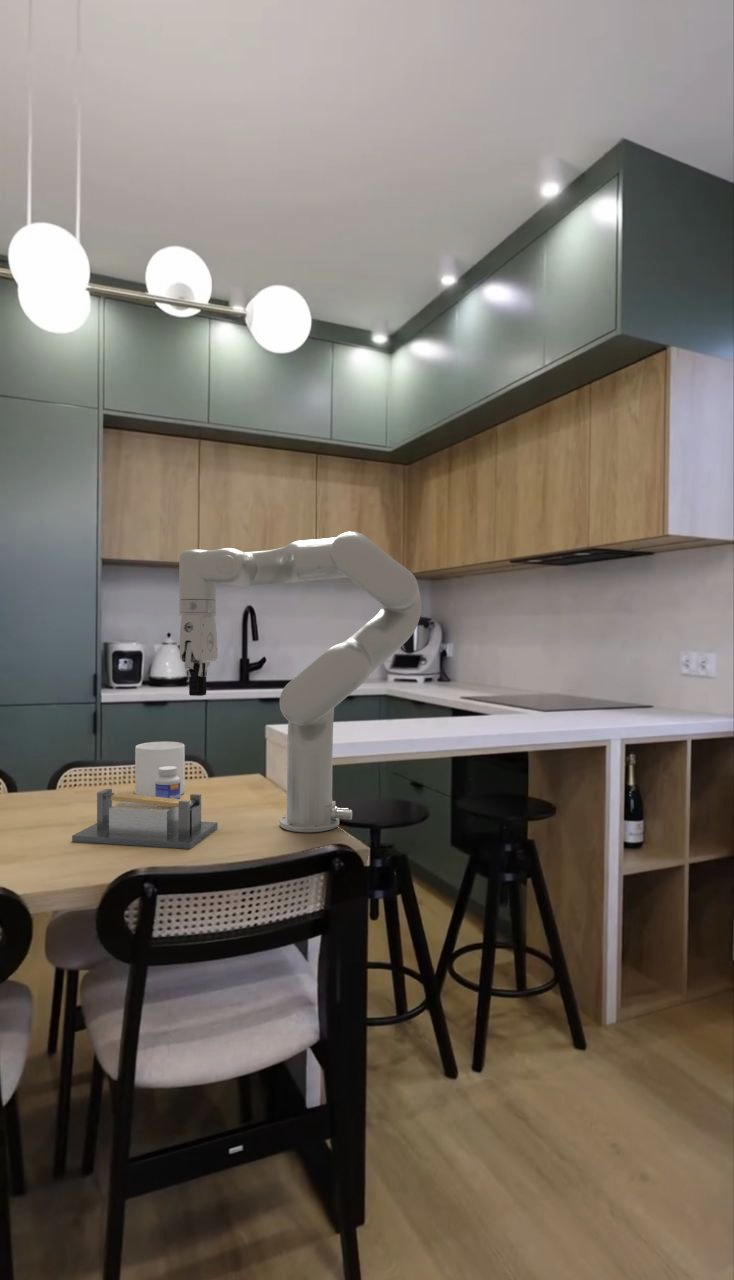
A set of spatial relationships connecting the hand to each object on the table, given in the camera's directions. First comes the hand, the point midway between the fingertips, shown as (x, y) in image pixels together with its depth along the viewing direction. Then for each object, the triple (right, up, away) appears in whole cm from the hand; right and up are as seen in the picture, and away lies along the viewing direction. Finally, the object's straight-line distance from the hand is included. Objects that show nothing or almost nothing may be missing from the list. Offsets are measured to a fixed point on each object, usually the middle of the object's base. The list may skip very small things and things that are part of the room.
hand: (197, 695), depth 152 cm
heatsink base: (-8, -27, -9) cm, 30 cm away
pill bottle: (-9, -27, +9) cm, 30 cm away
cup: (-15, -27, +25) cm, 40 cm away
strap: (-7, -21, -10) cm, 24 cm away
